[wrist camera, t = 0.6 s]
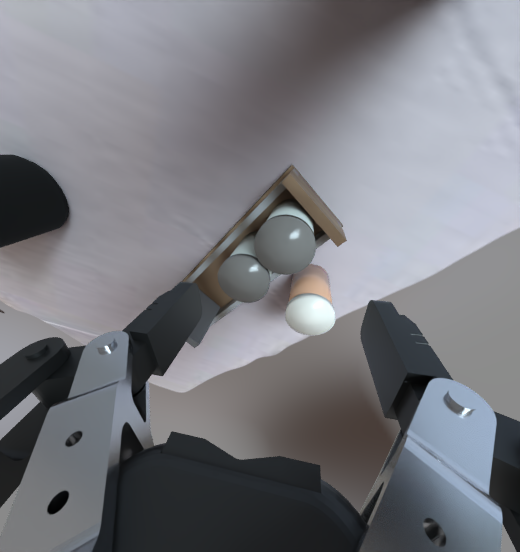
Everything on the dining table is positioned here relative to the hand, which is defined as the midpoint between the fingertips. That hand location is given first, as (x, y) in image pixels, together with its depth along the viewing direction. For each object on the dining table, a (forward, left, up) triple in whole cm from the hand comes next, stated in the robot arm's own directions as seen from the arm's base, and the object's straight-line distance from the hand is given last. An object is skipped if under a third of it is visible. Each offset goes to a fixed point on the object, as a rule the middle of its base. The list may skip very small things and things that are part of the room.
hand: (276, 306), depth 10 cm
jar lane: (+11, 0, -19) cm, 22 cm away
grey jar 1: (+7, 0, -18) cm, 19 cm away
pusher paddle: (+20, 0, -17) cm, 27 cm away
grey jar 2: (+1, 0, -18) cm, 18 cm away
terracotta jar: (+5, +9, -19) cm, 21 cm away
